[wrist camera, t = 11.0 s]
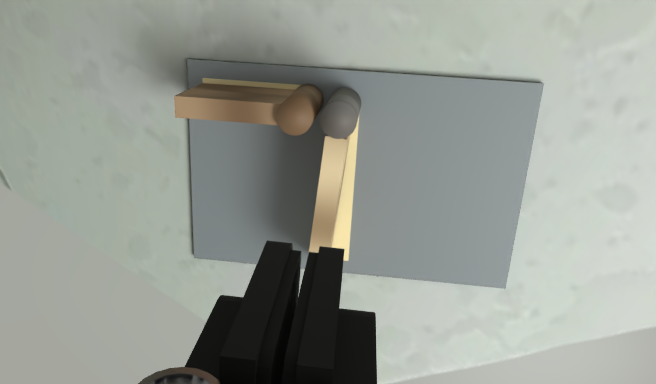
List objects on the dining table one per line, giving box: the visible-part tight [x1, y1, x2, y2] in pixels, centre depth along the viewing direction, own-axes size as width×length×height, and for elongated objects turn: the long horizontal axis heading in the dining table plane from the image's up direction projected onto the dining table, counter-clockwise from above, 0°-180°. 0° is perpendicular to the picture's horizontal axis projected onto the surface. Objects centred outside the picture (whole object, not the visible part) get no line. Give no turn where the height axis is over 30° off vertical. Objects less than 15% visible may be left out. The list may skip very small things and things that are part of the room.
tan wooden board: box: [309, 88, 361, 253], centre depth 33 cm, size 12×2×5 cm, turn 172°
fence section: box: [174, 83, 324, 135], centre depth 32 cm, size 8×2×5 cm, turn 87°
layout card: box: [187, 59, 544, 288], centre depth 36 cm, size 22×14×1 cm, turn 87°
